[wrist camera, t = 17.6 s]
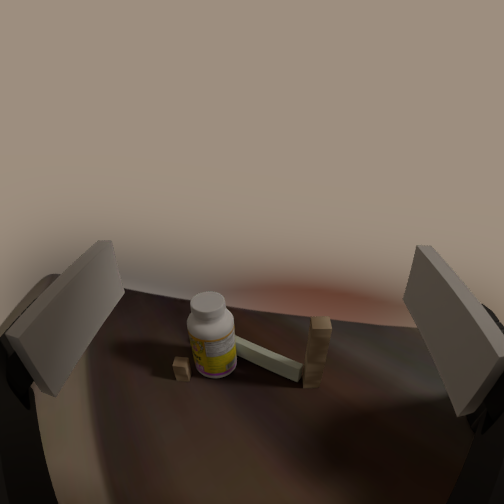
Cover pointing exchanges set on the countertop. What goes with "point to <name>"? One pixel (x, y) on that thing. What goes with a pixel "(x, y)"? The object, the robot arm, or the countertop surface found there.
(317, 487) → the countertop surface
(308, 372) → the wooden post frame
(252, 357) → the bar
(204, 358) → the supplement bottle
